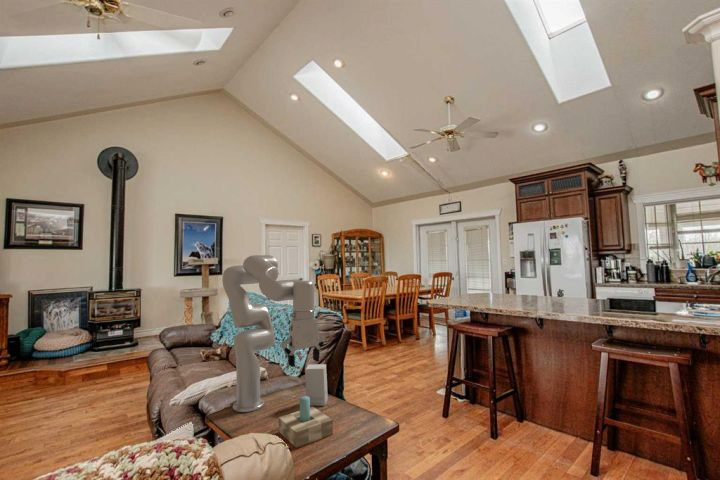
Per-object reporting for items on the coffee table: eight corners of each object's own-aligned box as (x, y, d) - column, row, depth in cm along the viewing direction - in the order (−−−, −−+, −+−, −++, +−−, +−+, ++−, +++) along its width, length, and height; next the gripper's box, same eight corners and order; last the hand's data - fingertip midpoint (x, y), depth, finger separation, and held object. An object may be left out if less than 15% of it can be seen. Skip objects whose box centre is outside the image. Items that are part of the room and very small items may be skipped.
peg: (298, 432, 123) (297, 398, 124) (307, 429, 125) (306, 395, 126) (303, 436, 120) (302, 401, 121) (312, 433, 122) (311, 398, 123)
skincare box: (328, 400, 151) (327, 363, 152) (325, 406, 145) (324, 368, 145) (309, 399, 152) (308, 363, 153) (305, 406, 145) (304, 368, 146)
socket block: (278, 431, 124) (278, 417, 124) (313, 420, 132) (313, 406, 133) (296, 448, 113) (296, 432, 113) (332, 434, 121) (332, 419, 122)
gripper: (285, 319, 117) (286, 370, 116) (329, 313, 127) (330, 361, 127) (276, 316, 123) (277, 365, 122) (319, 311, 133) (319, 356, 133)
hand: (304, 363), depth 124 cm, fingers open, 9 cm apart
